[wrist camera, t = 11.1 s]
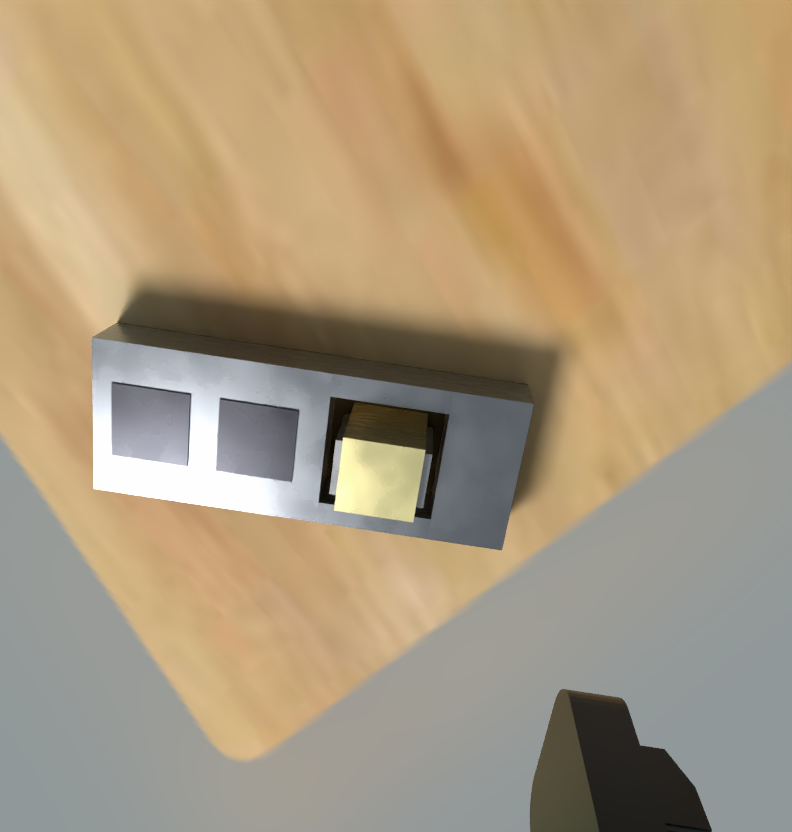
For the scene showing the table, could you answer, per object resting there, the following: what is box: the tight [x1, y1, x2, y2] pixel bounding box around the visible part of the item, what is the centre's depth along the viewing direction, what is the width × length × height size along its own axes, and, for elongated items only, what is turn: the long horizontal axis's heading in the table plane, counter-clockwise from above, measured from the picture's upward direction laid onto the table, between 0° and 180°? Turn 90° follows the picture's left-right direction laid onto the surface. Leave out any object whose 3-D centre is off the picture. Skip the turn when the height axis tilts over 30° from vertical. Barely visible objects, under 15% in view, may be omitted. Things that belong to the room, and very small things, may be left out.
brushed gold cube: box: [329, 403, 433, 522], centre depth 39 cm, size 4×5×5 cm
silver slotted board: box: [92, 323, 534, 550], centre depth 39 cm, size 8×22×3 cm, turn 82°
